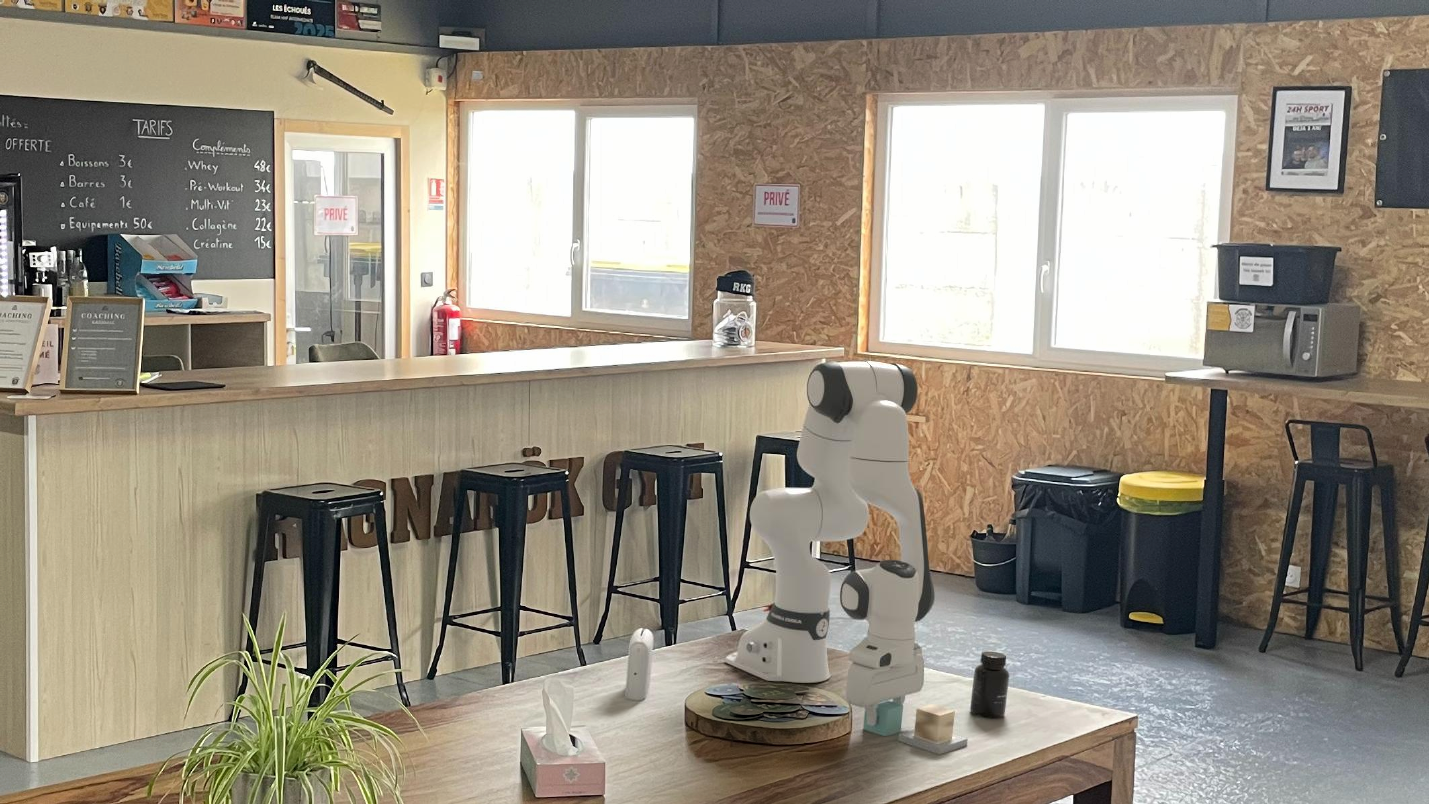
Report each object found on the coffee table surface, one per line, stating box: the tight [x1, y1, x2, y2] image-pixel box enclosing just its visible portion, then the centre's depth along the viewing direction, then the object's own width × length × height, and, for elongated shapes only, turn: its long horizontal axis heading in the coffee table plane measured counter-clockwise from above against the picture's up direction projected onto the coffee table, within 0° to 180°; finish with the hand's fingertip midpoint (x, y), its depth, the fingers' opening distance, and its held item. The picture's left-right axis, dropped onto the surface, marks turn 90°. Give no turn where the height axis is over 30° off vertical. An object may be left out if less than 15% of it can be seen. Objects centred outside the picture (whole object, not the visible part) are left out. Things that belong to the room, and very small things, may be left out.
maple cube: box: [914, 703, 956, 742], centre depth 290 cm, size 5×5×5 cm
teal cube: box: [862, 700, 904, 737], centre depth 295 cm, size 5×5×5 cm
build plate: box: [898, 728, 968, 755], centre depth 290 cm, size 9×9×1 cm
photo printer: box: [624, 627, 655, 701], centre depth 305 cm, size 10×4×12 cm, turn 177°
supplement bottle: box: [969, 650, 1010, 719], centre depth 310 cm, size 7×7×12 cm
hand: (882, 721), depth 295 cm, fingers closed on teal cube, 5 cm apart
